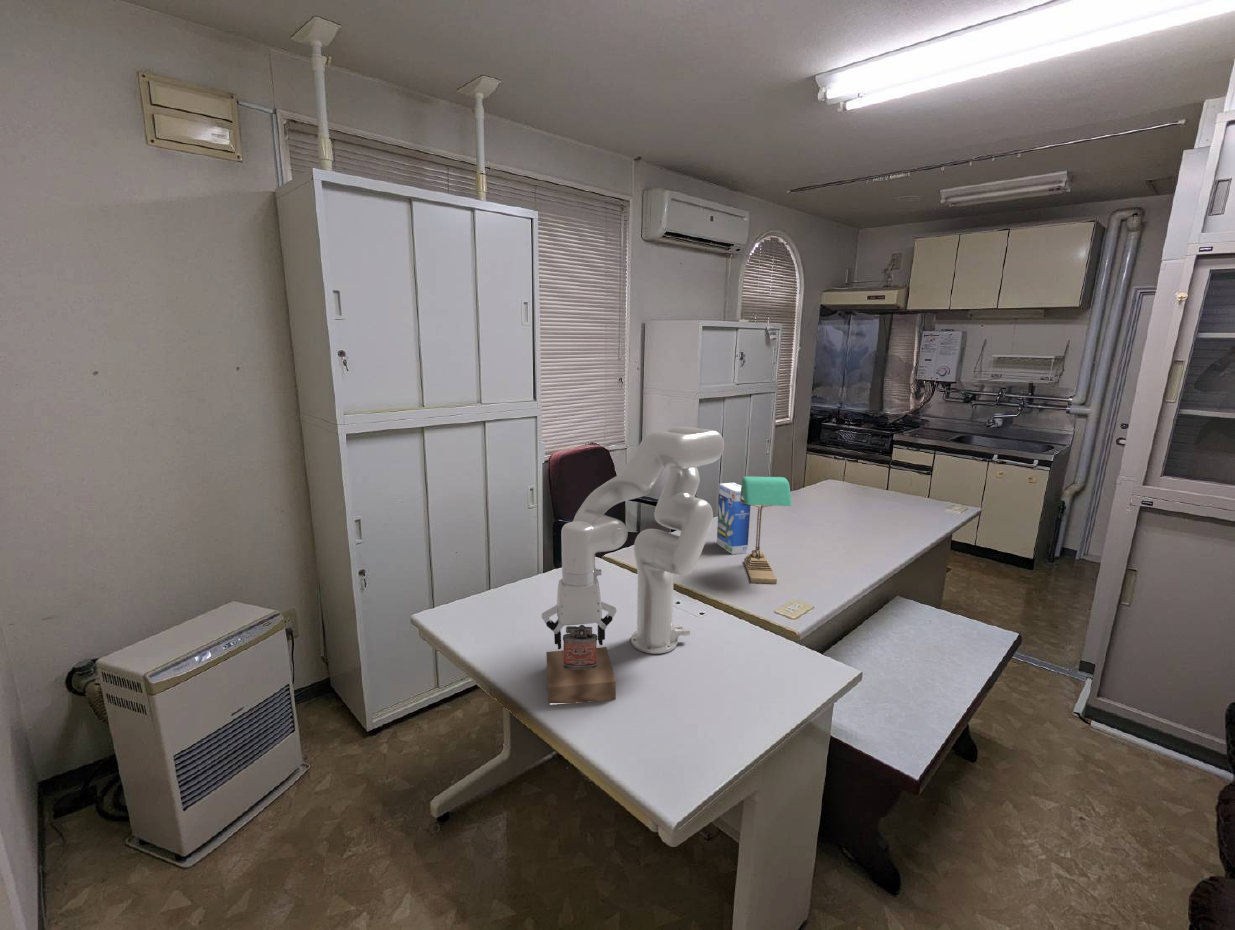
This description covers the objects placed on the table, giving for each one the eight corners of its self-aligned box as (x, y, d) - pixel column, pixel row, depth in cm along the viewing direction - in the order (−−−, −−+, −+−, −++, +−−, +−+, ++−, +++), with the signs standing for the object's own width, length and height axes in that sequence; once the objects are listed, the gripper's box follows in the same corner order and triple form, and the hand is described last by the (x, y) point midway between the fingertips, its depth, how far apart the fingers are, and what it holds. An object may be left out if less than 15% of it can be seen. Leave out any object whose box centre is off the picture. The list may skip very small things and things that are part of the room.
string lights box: (716, 543, 224) (718, 483, 219) (732, 542, 227) (735, 482, 222) (731, 554, 212) (734, 490, 207) (749, 552, 214) (752, 489, 209)
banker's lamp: (776, 563, 204) (782, 472, 197) (788, 586, 183) (795, 485, 176) (734, 561, 205) (738, 471, 198) (741, 584, 185) (746, 484, 178)
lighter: (596, 661, 130) (597, 622, 128) (596, 669, 126) (597, 630, 125) (563, 661, 129) (563, 622, 127) (562, 669, 126) (562, 630, 124)
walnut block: (606, 665, 137) (606, 646, 136) (615, 701, 123) (615, 681, 122) (546, 670, 135) (546, 651, 134) (549, 707, 120) (548, 687, 119)
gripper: (613, 567, 129) (613, 633, 132) (539, 572, 126) (541, 639, 129) (619, 579, 121) (619, 649, 125) (541, 585, 118) (543, 656, 122)
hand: (579, 644), depth 127 cm, fingers open, 9 cm apart
